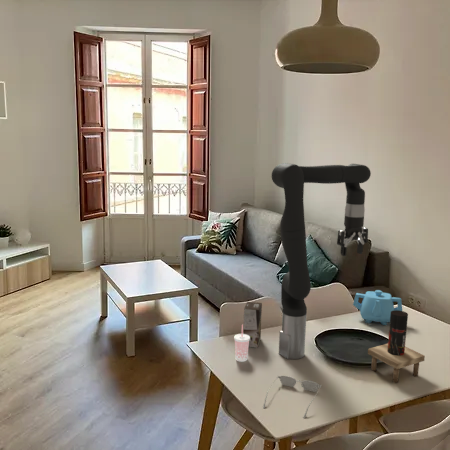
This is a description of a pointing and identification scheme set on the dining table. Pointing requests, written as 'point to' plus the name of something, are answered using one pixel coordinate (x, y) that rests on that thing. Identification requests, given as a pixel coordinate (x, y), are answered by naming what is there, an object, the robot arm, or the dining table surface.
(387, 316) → the teapot
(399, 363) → the stool
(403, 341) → the deodorant
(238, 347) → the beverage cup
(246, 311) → the coffee box
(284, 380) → the eyeglasses
